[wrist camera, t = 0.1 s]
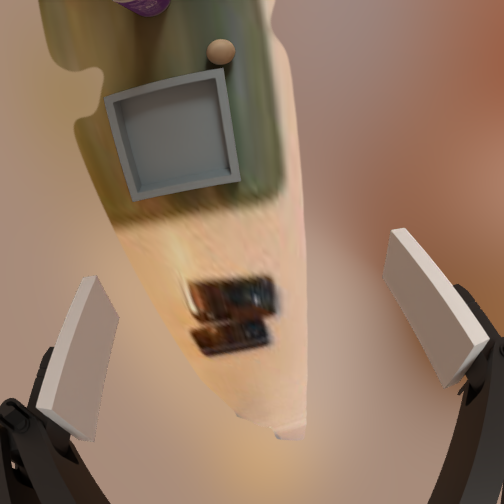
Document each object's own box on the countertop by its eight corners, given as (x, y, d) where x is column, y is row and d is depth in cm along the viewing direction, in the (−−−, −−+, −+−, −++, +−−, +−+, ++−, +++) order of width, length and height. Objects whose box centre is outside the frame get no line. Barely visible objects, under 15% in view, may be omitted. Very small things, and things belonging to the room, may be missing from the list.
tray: (111, 94, 31) (103, 97, 28) (223, 67, 31) (223, 68, 28) (138, 191, 39) (132, 201, 36) (239, 172, 39) (240, 180, 36)
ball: (205, 42, 29) (203, 40, 26) (232, 38, 29) (233, 36, 26) (209, 66, 30) (208, 67, 28) (235, 62, 30) (237, 62, 28)
